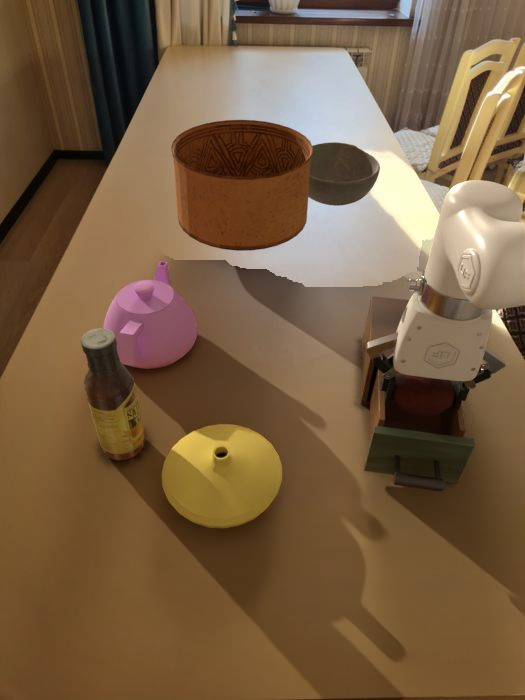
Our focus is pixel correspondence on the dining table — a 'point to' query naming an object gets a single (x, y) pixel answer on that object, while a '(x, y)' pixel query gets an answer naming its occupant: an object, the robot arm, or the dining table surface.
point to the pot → (242, 183)
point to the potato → (423, 394)
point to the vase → (221, 475)
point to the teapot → (151, 322)
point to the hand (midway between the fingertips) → (420, 397)
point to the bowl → (341, 173)
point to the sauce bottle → (112, 397)
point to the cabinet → (378, 336)
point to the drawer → (416, 443)
